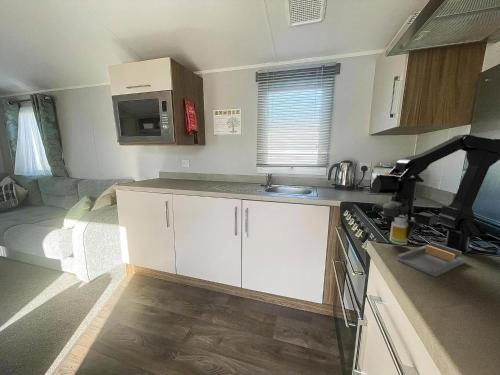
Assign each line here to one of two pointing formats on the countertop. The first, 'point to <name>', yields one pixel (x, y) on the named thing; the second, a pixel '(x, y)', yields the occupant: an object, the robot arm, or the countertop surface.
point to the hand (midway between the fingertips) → (398, 235)
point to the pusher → (439, 253)
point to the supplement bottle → (399, 230)
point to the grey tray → (431, 260)
